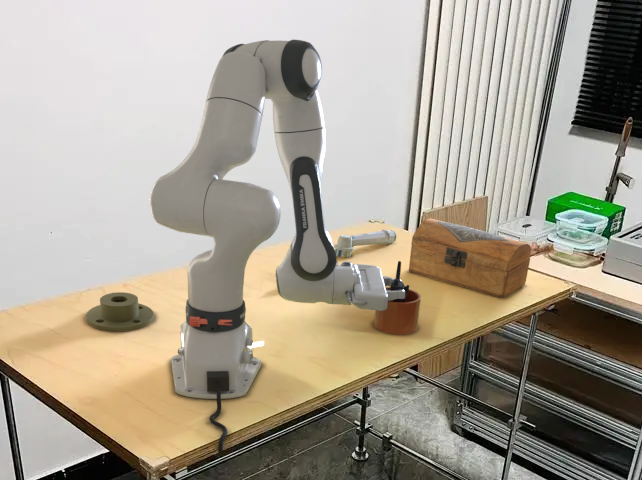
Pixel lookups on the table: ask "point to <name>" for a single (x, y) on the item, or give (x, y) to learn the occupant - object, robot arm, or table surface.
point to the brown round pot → (399, 315)
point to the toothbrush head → (362, 241)
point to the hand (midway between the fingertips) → (403, 288)
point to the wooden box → (469, 258)
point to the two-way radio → (399, 284)
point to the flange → (119, 313)
